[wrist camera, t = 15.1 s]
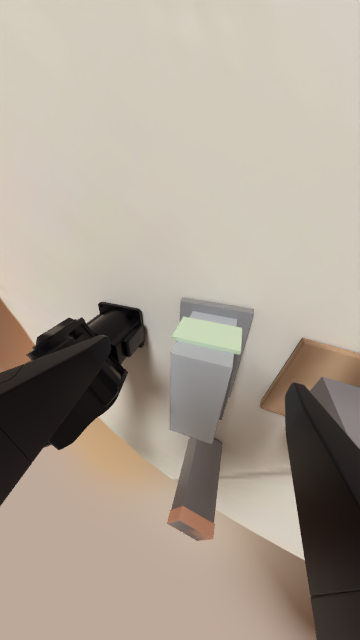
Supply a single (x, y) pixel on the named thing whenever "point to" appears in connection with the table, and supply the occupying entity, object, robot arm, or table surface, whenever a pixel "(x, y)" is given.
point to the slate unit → (205, 364)
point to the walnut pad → (312, 371)
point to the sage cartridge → (340, 404)
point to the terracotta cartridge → (197, 490)
